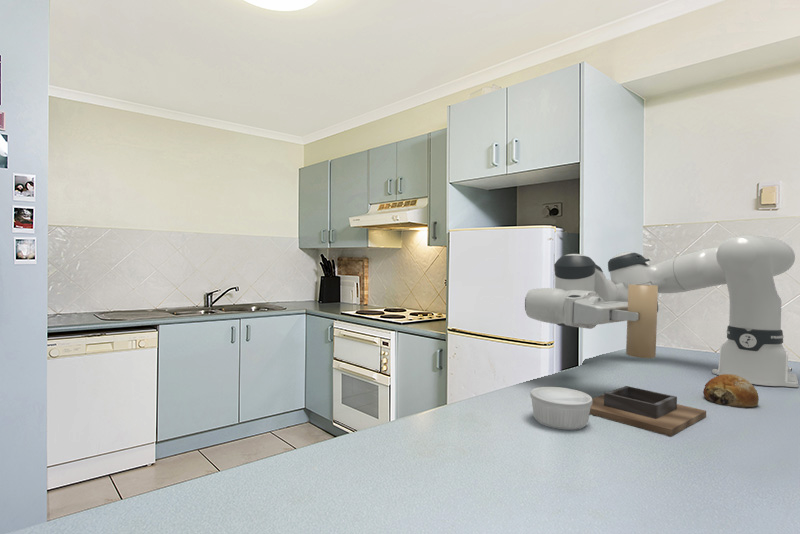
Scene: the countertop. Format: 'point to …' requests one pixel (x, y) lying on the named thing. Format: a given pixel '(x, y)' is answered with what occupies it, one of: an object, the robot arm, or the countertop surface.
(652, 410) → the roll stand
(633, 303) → the beige pillar candle
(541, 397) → the ramekin
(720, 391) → the bread roll
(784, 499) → the countertop surface
